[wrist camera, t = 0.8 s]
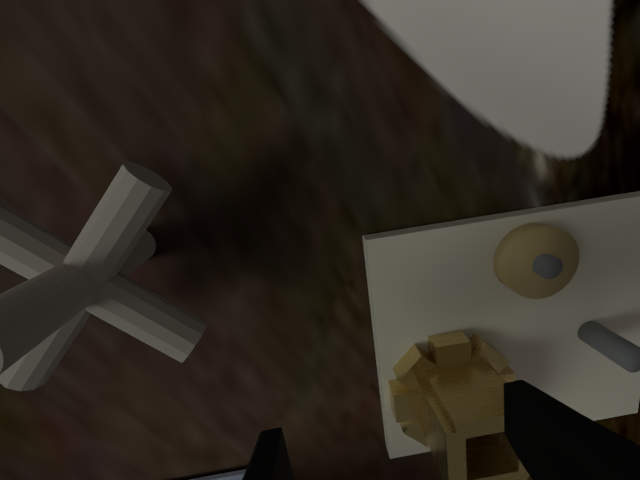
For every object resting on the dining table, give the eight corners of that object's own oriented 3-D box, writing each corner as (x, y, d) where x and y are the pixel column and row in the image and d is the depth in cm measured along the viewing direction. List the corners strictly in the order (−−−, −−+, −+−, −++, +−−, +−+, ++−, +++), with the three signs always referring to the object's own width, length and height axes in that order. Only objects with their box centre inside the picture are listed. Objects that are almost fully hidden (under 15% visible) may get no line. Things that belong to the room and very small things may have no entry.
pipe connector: (269, 224, 18) (245, 309, 9) (172, 357, 20) (62, 553, 10) (96, 103, 16) (-194, 39, 6) (2, 264, 18) (-340, 404, 8)
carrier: (623, 401, 24) (687, 451, 20) (385, 445, 23) (404, 505, 19) (650, 189, 20) (738, 199, 16) (362, 235, 19) (380, 257, 15)
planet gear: (502, 420, 22) (561, 497, 17) (394, 440, 22) (423, 524, 17) (503, 322, 20) (570, 378, 15) (384, 343, 20) (413, 407, 15)
